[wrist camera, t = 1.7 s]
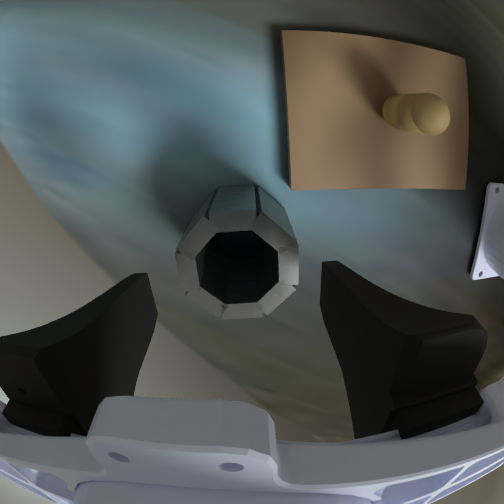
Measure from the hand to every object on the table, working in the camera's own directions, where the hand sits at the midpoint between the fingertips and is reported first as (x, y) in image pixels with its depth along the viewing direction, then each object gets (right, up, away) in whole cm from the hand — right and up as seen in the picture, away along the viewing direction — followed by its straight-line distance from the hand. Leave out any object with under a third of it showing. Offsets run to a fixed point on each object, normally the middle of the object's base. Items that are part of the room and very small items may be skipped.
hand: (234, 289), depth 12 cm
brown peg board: (+9, +10, +3) cm, 13 cm away
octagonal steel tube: (0, +3, +6) cm, 7 cm away
